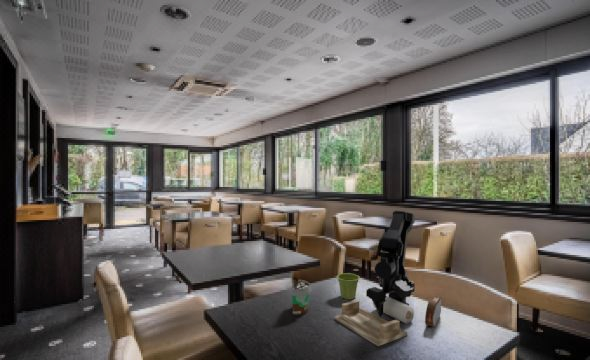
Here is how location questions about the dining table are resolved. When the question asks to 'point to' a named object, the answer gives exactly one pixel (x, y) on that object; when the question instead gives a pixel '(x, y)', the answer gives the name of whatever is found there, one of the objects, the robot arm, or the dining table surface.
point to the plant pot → (348, 285)
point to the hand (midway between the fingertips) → (389, 313)
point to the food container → (301, 298)
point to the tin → (433, 311)
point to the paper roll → (397, 310)
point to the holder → (369, 324)
